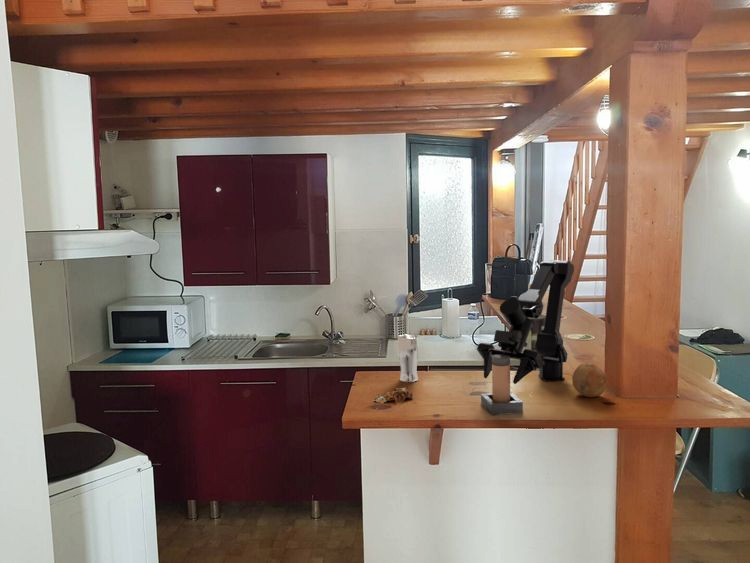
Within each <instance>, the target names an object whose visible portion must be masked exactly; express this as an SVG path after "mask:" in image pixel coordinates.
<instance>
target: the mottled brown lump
mask: <svg viewBox="0 0 750 563" xmlns="http://www.w3.org/2000/svg"><path fill="white" fill-rule="evenodd" d="M379 397H380V398H379ZM413 397H414V394H413V392H412V391H411V392H410V391H409V390H408V389H407V387H400V388H394V389H393V391H388V392H386V393H384V394H382V395H378V396H376V397H375V399H376V398H377V399H376V400H375V401H384V402H385V403H386V402H387V401H389V402H390V401H394V403H395V402H398V403H401V402H400V401H404V402H405V400H406V398H408V399H413ZM375 401H374V402H375Z"/></svg>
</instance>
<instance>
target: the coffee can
mask: <svg viewBox="0 0 750 563" xmlns="http://www.w3.org/2000/svg"><path fill="white" fill-rule="evenodd" d="M545 318H546V314H541V315H540V316H539V317H538V318H529V319H530V321H531V322H532V325H533V328H534V330H533V331H530V332H529V335H528V337H527V340H526V343H527V346H526V347H523V350H522V353H523V352H524V350H525V349H530V350H535V344H536V341H537V335H538V333H541V332H542V331H543V329H544V325H545Z"/></svg>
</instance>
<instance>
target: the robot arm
mask: <svg viewBox="0 0 750 563" xmlns="http://www.w3.org/2000/svg"><path fill="white" fill-rule="evenodd" d="M574 272H575V266H574V264H573V263H571V261H570V260H559V259H558V260H554V259H552V260H549V261H548V260H543V261H541V262H540V263H539V269H538V270H537V272H536V274H535V276H534V278H533V280H532V282H531V284H530V286H529V288H528V289H527V291H526V292H523V293H522V294H520V296H519V297H518V296H514V295H513V296H512V295H511V296H510V297H509V299H506V300H504V301H503V302H502V303H501V304H500V306H499V311H500V313H501V315H502V317H503V318H504V320H505V321H506V323H507V324H508V325H509V329H508V331H507V330H499V329H496V330H495V332H494V337H493V342H496V343H497V346H498V347H499V348H500V349H498V348H495V346H494V345H493V343H488V342H480V343H478V345H477V346H476V351H477V352H478V354H479V355H480V356H481V358H482V359H483V378H484V379H487V378H488V376H489V375H490V373H492V356H493V355H508V356H510V359H513V360H514V359H515V360H518V361H519V364H518V365H519V366H518V368H517V370H516V372H515V375H514V377H513V379H512V380H513V381H512V383H513V384H514V385H516V384H518V383H519V382H520V381H521V380H522V379H523V378H525V377H526V376H527V375H529V374H530V373H532V372H533V371H536V370H537V369H538V370H539V371H538V372H539V374H538V376H539V377H540V378H541V379H542V380H544V381H545V382H553V381H554V382H556V381H564V380H565V379H566V378H565V377H564V374H563V373H564V367H563V365H564V363H567V360H568V355H569V354H568V351H567V350H566V348H565V346H564V339H563V337H562V335H561V333H560V328H561V321H562V313H563V306H564V300H565V299H564V298H565V290H566V287H567V286H568V285H569V284H570V282H571V281H572V277H573V274H574ZM548 289H549V290H548ZM547 290H548V296H547V303H546V311H545V312H546V313H545V316H546V318H545V325H544V329H543V331H542V332H541V333H538V335H537V341H536V344H535V350H530V349H525V350H524V352H523V353H522V350H523V347H526V346H527V343H526V340H527V337H528V335H529V332H530V331H533V330H534V328H533V325H532V322H531V321H530V319H529V318H538V317H539V316H540V315H542V314H543V310H544V303H543V299H544V296H545V294H546V292H547Z"/></svg>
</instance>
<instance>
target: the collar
mask: <svg viewBox="0 0 750 563" xmlns="http://www.w3.org/2000/svg"><path fill="white" fill-rule="evenodd" d="M523 403H524V402H523V401H522V400H521V399H520V398H519V397H518V396H516V395H515V394H514V393H513V392H511V391H510V401H507V402H495V403H494V402H493V401H492V392H491V393H489V392H488V393H481V394H480V404H481V405H482V407H483V408H484V409H485V410H486V411H487V412H488V413H489V414H490V415H491V416H495V415H505V414H506V415H508V414H517V413H523V412H524V411H523V410H524V409H523V408H524V407H523V406H524V405H523Z"/></svg>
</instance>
